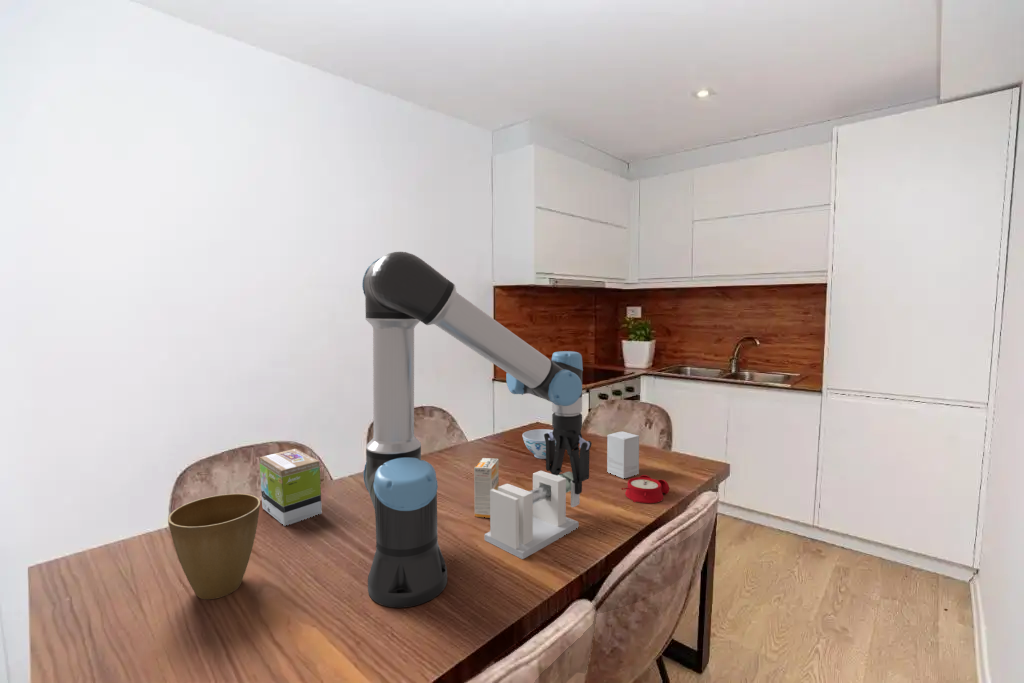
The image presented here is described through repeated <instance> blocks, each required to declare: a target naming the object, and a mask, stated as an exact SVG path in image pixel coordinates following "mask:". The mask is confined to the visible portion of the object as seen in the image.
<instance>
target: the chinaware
mask: <svg viewBox="0 0 1024 683" xmlns="http://www.w3.org/2000/svg"><path fill="white" fill-rule="evenodd" d="M549 432H553V429H545V428H541V429H537V428H536V429H530V430H527V431H525V432H523V433H522V439H523V442H524V444H525V447H526V449H527V450H529V452H530V453H532V454H533V456H534V457H535V458H537V459H539V460H544V459H545V460H546V442H545V438H544V434H546V433H549ZM555 445H556V441H555Z"/></svg>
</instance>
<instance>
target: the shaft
mask: <svg viewBox="0 0 1024 683" xmlns="http://www.w3.org/2000/svg"><path fill="white" fill-rule="evenodd" d="M560 474H561V475H558V476H560V477H563V478H566V494H568V493H569V492H571V481H572V480H573V474H572V471H565V472H564V473H560ZM528 491H529V492H532V493H533V504H535V503H537V502H539V501H541V500H543V499H546V498H548V497H550V496H551V486H549V485H547V484H545V485H543V486H541V487H538V488H536V489H534V490H533V489H532V490H528Z"/></svg>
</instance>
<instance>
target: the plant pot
mask: <svg viewBox="0 0 1024 683" xmlns="http://www.w3.org/2000/svg"><path fill="white" fill-rule="evenodd" d="M260 507H261V501H260V498H259V497H258V496H255V495H253V494H248V493H226V494H225V493H224V494H217V495H212V496H208V497H203V498H199V499H195V500H192V501H190V502H188V503H187V502H186V503H185V504H182V505H180V506H179V507H177V508H176V509H174V510H173V511H172V512H170V514H169V515H168V516H167V522H168V526H169V530H170V535H171V539H172V542H173V546H174V549H175V552H176V555H177V558H178V561H179V563H180V566H181V568H182V571H183V572H184V575H185V577H186V578H187V581H188V583H189V584H190V586H191V588H192V590H193V592H194V594H195V595H196V596H197V597H198V598H199V599H201V600H216V599H219V598H223V597H226V596H228V595H230V594H232V593H233V592H235V591H236V590H238V588H239V587H240V586H241V583H242V582H243V579H244V576H245V573H246V570H247V568H248V564H249V562H250V557H251V555H252V550H253V546H254V542H255V539H256V534H257V530H258V522H259V514H260Z"/></svg>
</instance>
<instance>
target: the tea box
mask: <svg viewBox="0 0 1024 683" xmlns="http://www.w3.org/2000/svg"><path fill="white" fill-rule="evenodd" d="M258 461H259V472H260V473H259V474H260V476H259V478H260V490H261V492H260V493H261V506H262V509H263V510H264V511H265V512H266V513H268V514H269V515H270V516H272V517H273V518H274V519H275V520H276V521H277V522H278V523H280V524H281V525H282V524H283V527H286V525H287V526H289V524H290V525H293V524H296V523H299V522H301V520H302V521H304V519H305V520H308V519H310V517H311V518H313V516H314V517H316V516H315V515H317V516H319V515H321V514H323V512H322V510H323V508H322V490H321V489H322V488H321V487H322V486H321V468H320V467H321V466H320V460H318V459H316V458H314V457H312V456H311V455H308V454H306V453H305V452H303V451H301V450H300V449H297V448H293V449H288V450H284V451H281V452H277V453H272V454H267V455H263V456H259V460H258ZM318 514H319V515H318ZM307 518H308V519H307Z"/></svg>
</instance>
